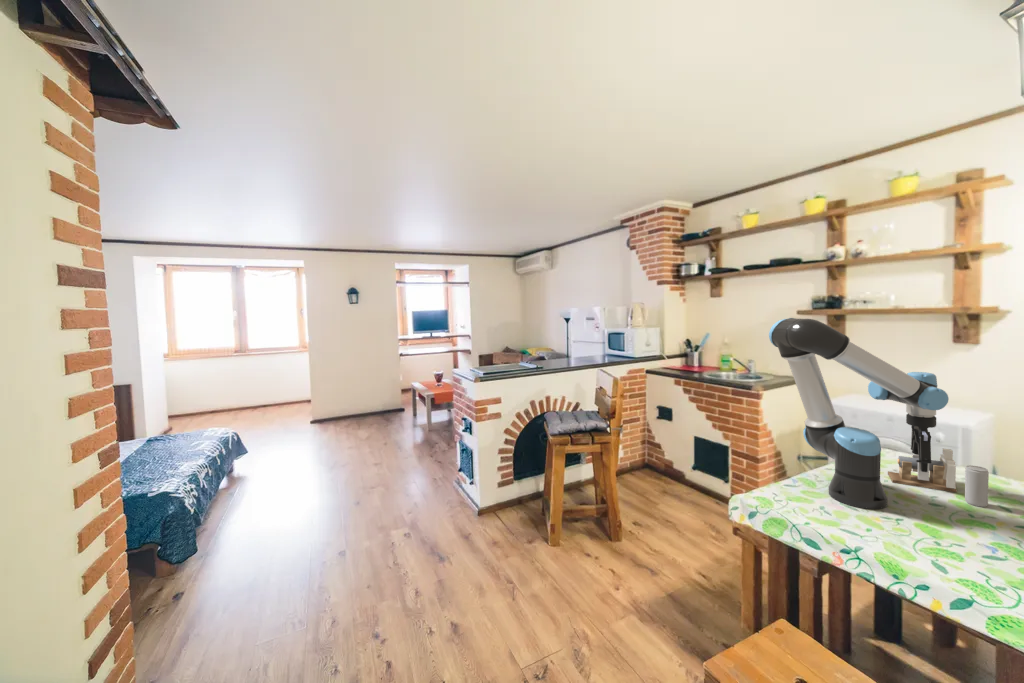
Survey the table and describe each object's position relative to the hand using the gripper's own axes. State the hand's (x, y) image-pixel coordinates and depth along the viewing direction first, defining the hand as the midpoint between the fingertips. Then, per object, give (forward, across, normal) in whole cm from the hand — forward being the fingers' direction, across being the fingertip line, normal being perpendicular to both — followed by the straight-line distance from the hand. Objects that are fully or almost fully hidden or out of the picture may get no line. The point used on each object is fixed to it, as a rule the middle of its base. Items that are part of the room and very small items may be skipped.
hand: (920, 475), depth 141 cm
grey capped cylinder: (-2, 0, 0) cm, 2 cm away
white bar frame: (+1, 0, -7) cm, 7 cm away
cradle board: (+3, 0, 0) cm, 3 cm away
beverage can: (+3, -13, -10) cm, 17 cm away
